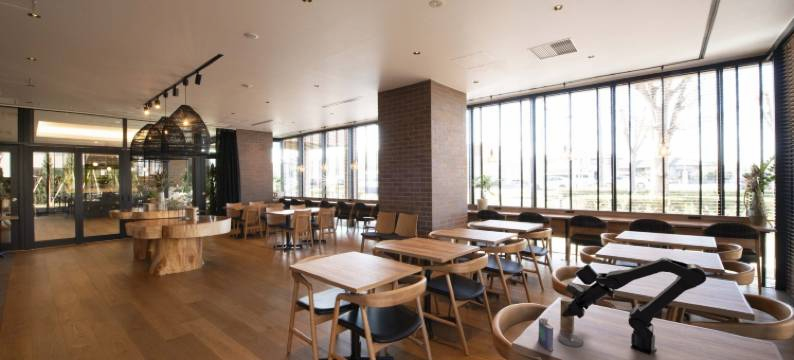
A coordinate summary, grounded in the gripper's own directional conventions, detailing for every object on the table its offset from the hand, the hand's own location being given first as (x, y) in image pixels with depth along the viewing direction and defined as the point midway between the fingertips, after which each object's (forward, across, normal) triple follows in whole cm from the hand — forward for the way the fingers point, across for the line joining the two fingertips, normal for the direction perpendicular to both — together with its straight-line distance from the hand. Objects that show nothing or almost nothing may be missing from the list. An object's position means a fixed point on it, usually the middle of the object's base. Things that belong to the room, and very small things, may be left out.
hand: (563, 313), depth 149 cm
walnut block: (+4, 0, +6) cm, 7 cm away
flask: (+7, +18, +3) cm, 20 cm away
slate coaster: (+2, +10, +8) cm, 12 cm away
